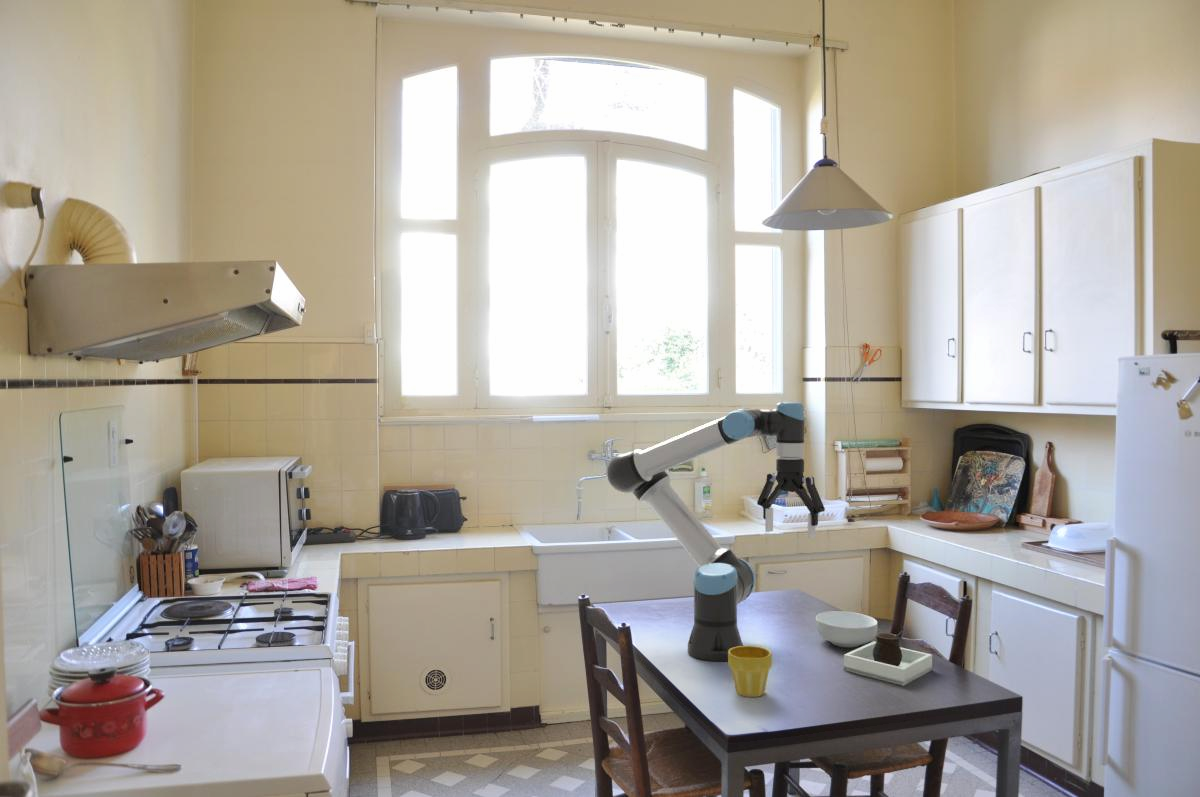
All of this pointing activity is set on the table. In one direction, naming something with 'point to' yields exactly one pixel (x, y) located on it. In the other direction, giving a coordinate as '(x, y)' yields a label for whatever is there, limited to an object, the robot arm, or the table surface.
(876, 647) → the mate gourd
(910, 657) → the open box
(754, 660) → the plant pot
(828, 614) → the cereal bowl
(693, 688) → the table surface
